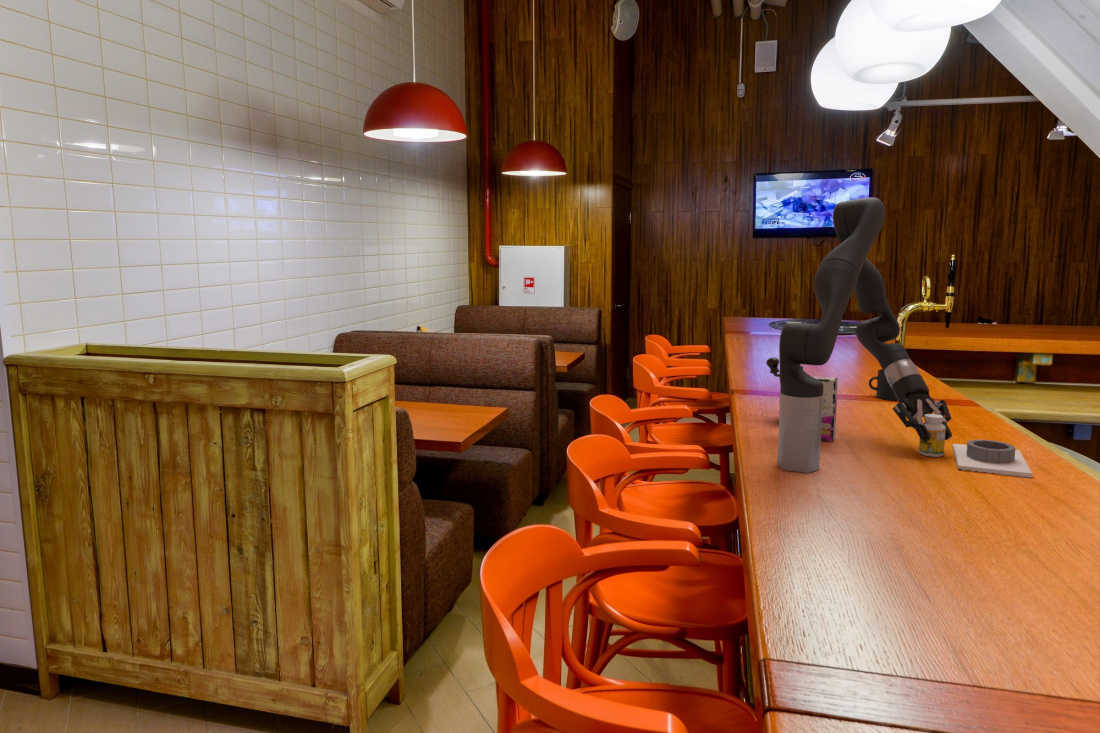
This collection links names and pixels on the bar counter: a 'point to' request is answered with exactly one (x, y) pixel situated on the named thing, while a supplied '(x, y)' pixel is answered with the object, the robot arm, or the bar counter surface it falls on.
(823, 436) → the candy bar box
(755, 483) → the bar counter surface
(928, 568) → the bar counter surface
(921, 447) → the supplement bottle
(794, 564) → the bar counter surface
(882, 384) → the mug
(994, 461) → the socket plate
